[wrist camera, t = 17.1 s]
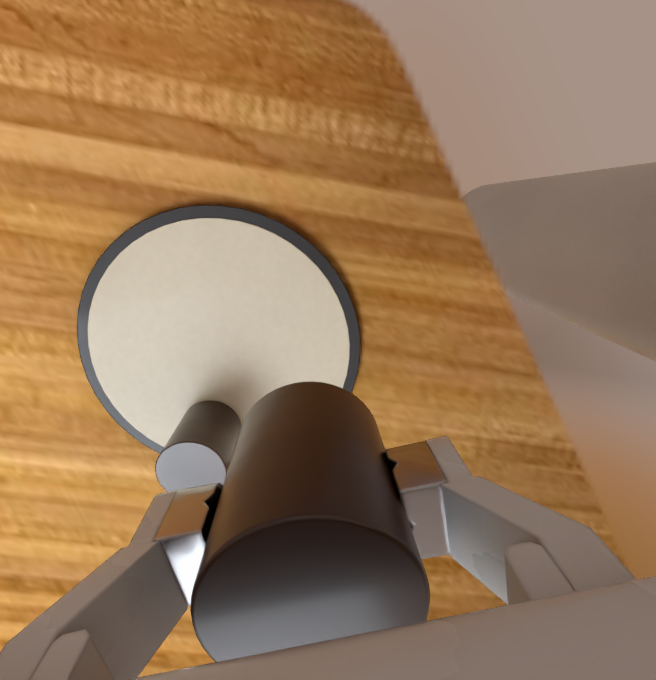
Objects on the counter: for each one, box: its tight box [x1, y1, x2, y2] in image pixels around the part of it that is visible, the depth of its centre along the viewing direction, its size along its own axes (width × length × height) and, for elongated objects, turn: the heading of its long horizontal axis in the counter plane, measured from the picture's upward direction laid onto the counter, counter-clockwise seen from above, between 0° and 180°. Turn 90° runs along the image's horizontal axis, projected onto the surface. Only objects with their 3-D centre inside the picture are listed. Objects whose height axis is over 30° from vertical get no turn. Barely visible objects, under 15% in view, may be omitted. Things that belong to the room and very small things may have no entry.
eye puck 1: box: [155, 400, 241, 492], centre depth 25 cm, size 4×4×5 cm
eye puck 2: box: [191, 382, 430, 662], centre depth 9 cm, size 4×4×5 cm
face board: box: [77, 205, 360, 453], centre depth 26 cm, size 18×18×1 cm
